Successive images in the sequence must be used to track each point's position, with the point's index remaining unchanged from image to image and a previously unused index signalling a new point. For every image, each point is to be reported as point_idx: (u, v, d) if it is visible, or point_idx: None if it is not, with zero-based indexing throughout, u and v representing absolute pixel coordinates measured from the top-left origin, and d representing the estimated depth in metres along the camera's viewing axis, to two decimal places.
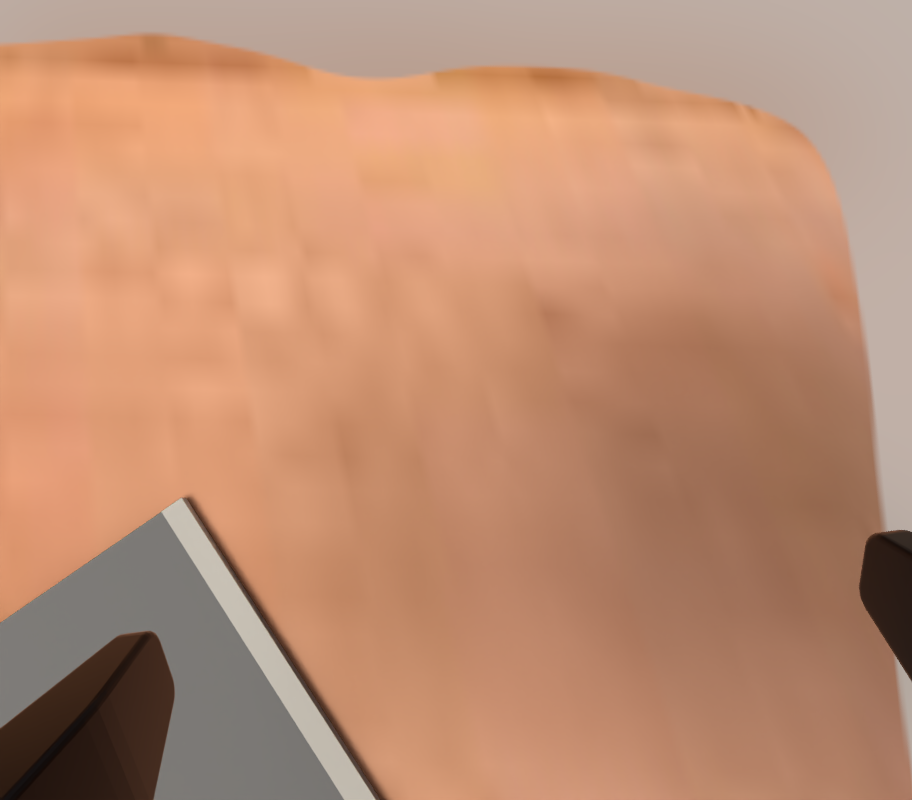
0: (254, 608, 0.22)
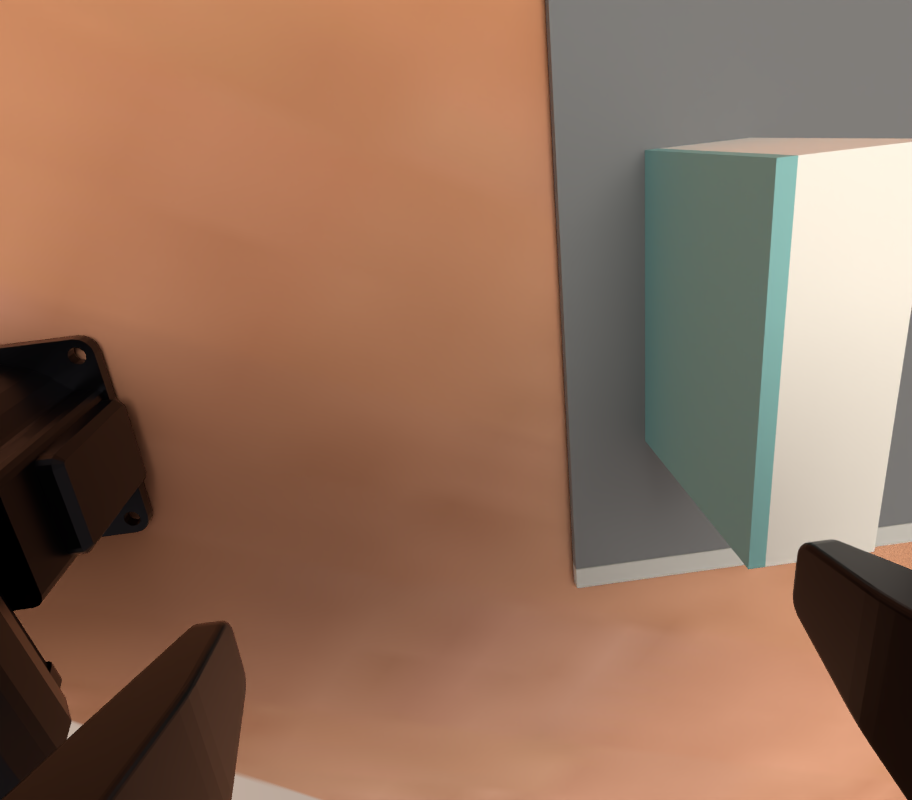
0: None
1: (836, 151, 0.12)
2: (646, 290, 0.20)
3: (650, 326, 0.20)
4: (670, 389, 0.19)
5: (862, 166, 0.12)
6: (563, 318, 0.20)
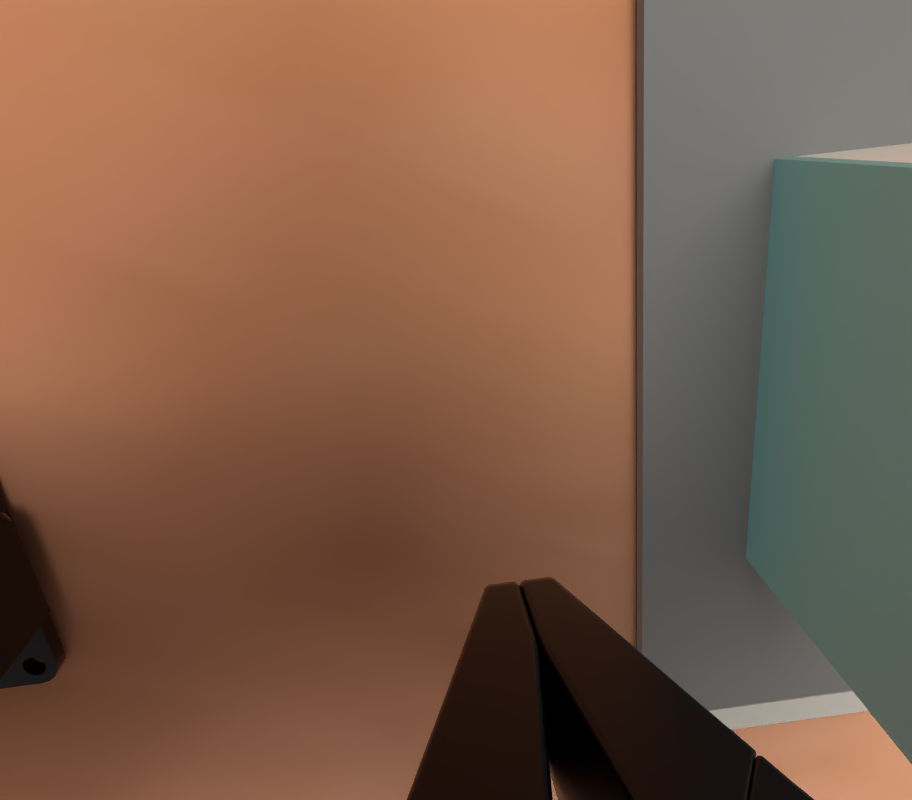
0: None
1: None
2: (762, 359, 0.14)
3: (768, 411, 0.14)
4: (805, 509, 0.13)
5: None
6: (642, 397, 0.14)
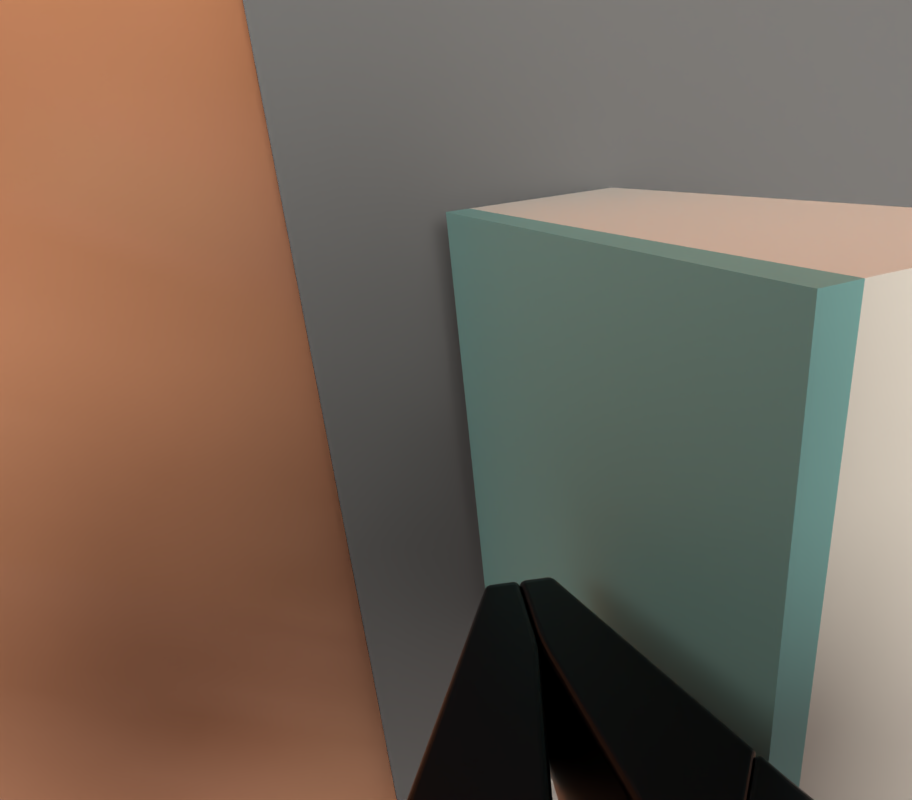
0: None
1: None
2: (472, 440, 0.12)
3: (484, 501, 0.12)
4: None
5: None
6: (333, 465, 0.13)
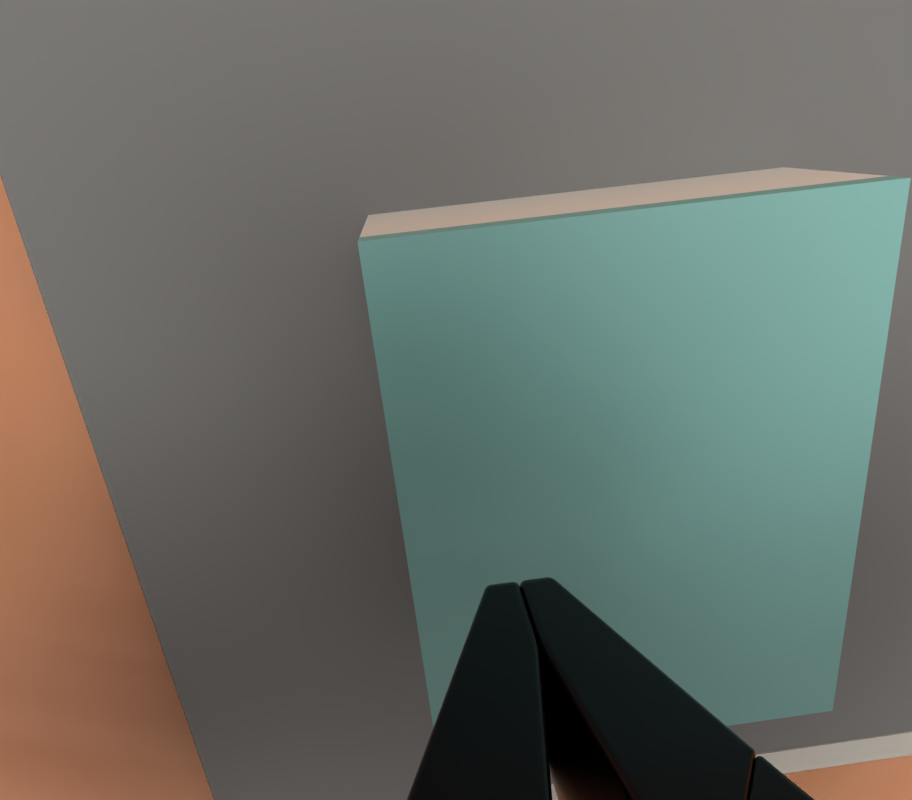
0: None
1: (852, 174, 0.09)
2: (401, 517, 0.10)
3: (442, 570, 0.10)
4: None
5: None
6: (112, 496, 0.13)
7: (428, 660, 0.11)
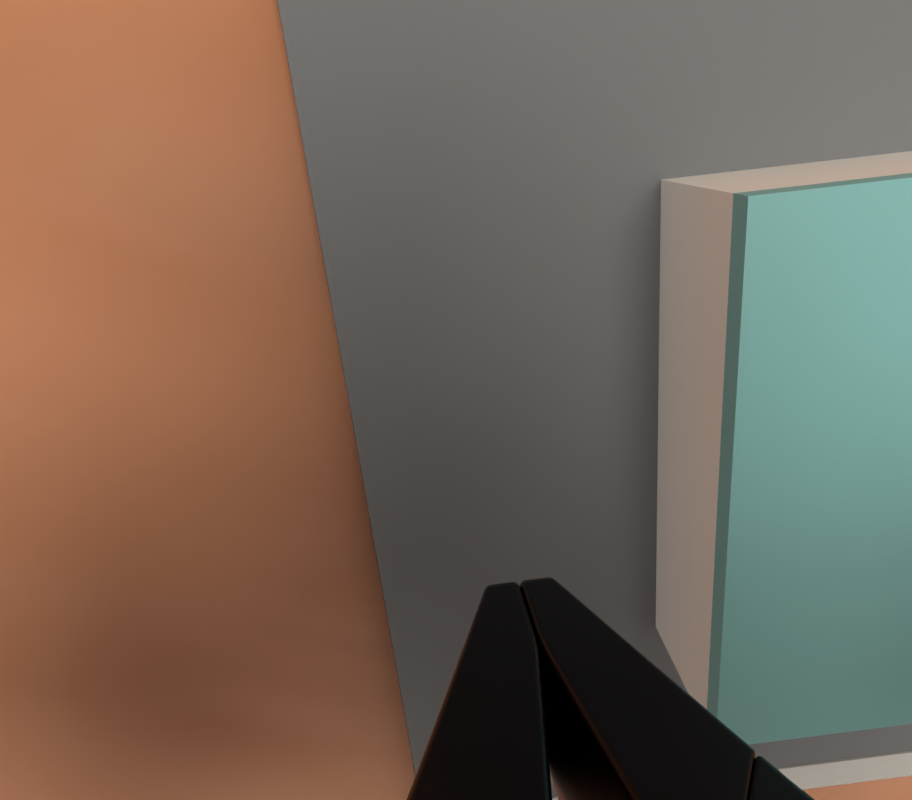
0: None
1: None
2: (729, 488, 0.09)
3: (761, 544, 0.10)
4: (857, 608, 0.10)
5: None
6: (361, 469, 0.12)
7: (728, 637, 0.10)
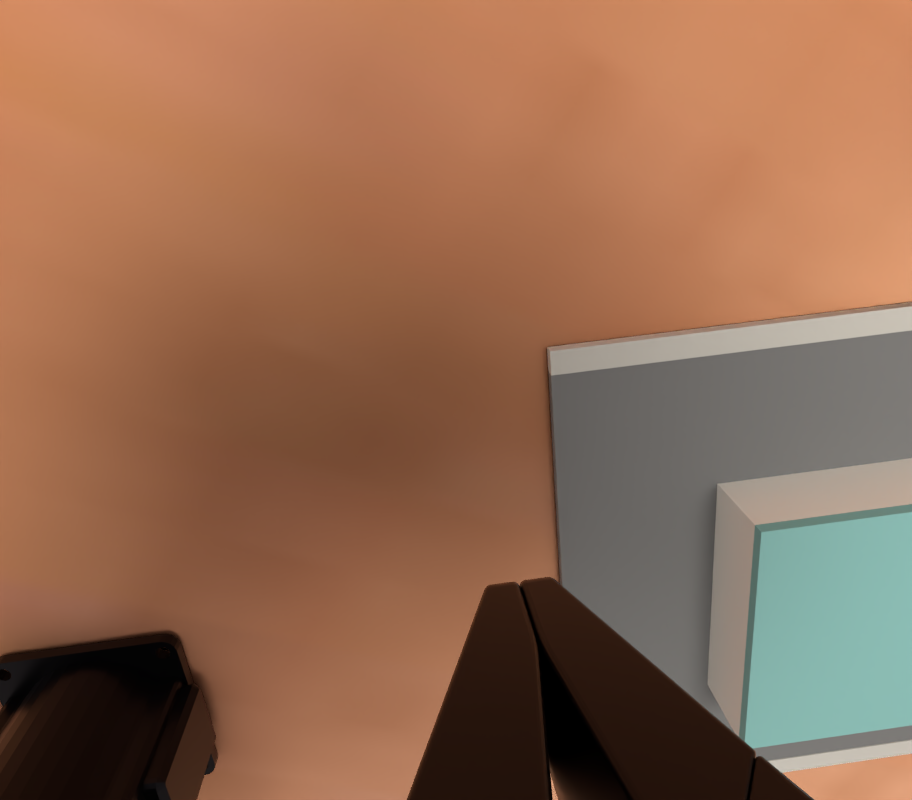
0: (882, 753, 0.29)
1: None
2: (752, 636, 0.22)
3: (766, 658, 0.22)
4: (809, 684, 0.22)
5: None
6: None
7: (751, 698, 0.22)
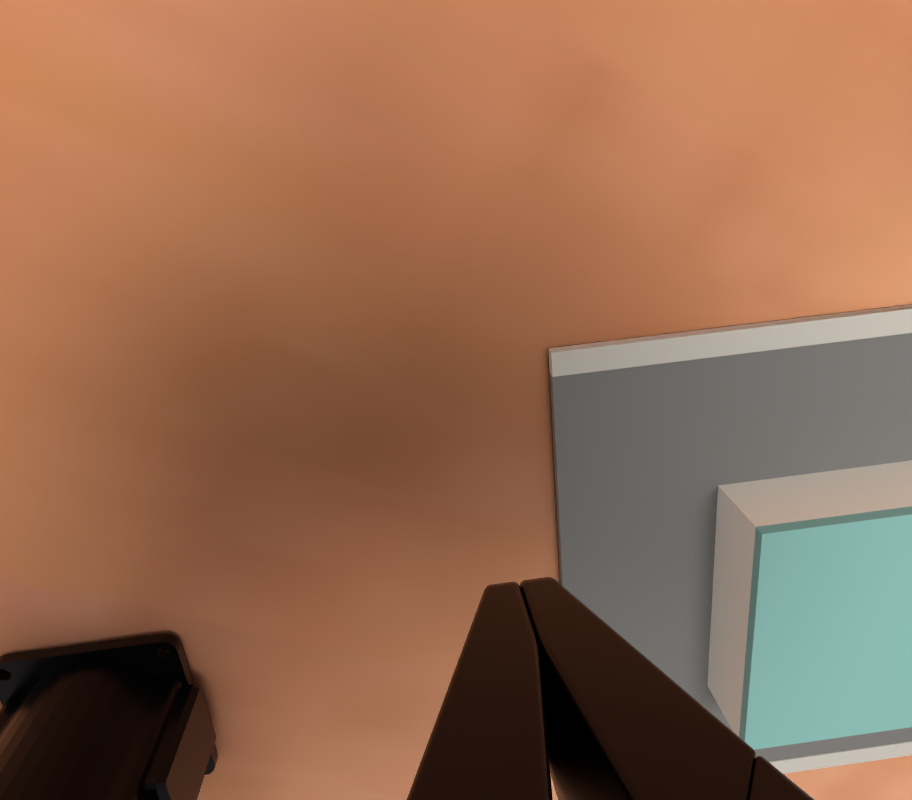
0: (882, 755, 0.29)
1: None
2: (752, 637, 0.22)
3: (766, 660, 0.22)
4: (809, 685, 0.22)
5: None
6: None
7: (751, 700, 0.22)
